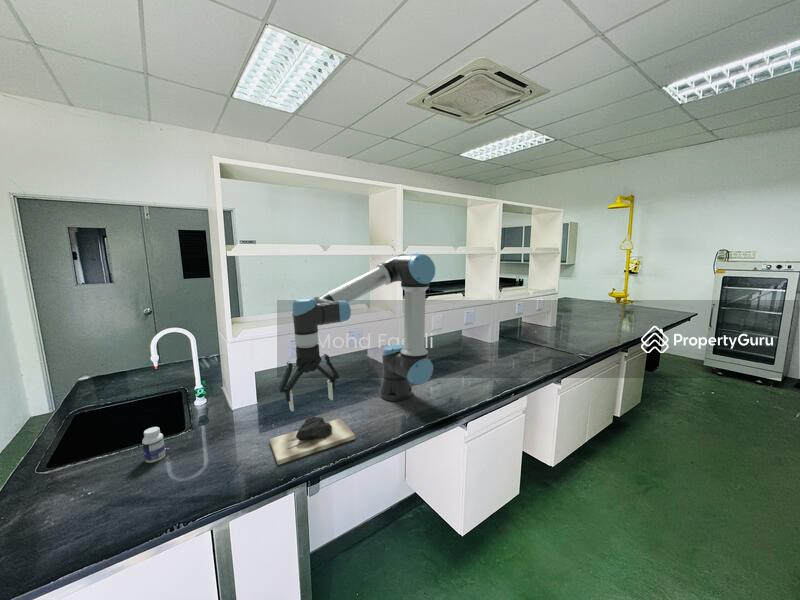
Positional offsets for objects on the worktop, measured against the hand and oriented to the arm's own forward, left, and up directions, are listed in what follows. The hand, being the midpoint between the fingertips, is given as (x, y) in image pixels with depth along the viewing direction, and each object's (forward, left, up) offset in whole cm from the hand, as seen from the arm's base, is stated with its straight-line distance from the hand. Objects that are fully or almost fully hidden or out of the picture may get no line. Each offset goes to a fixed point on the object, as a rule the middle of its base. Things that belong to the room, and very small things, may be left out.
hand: (311, 404), depth 110 cm
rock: (0, 0, -12) cm, 12 cm away
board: (0, 0, -14) cm, 14 cm away
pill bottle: (+46, -18, -14) cm, 52 cm away
